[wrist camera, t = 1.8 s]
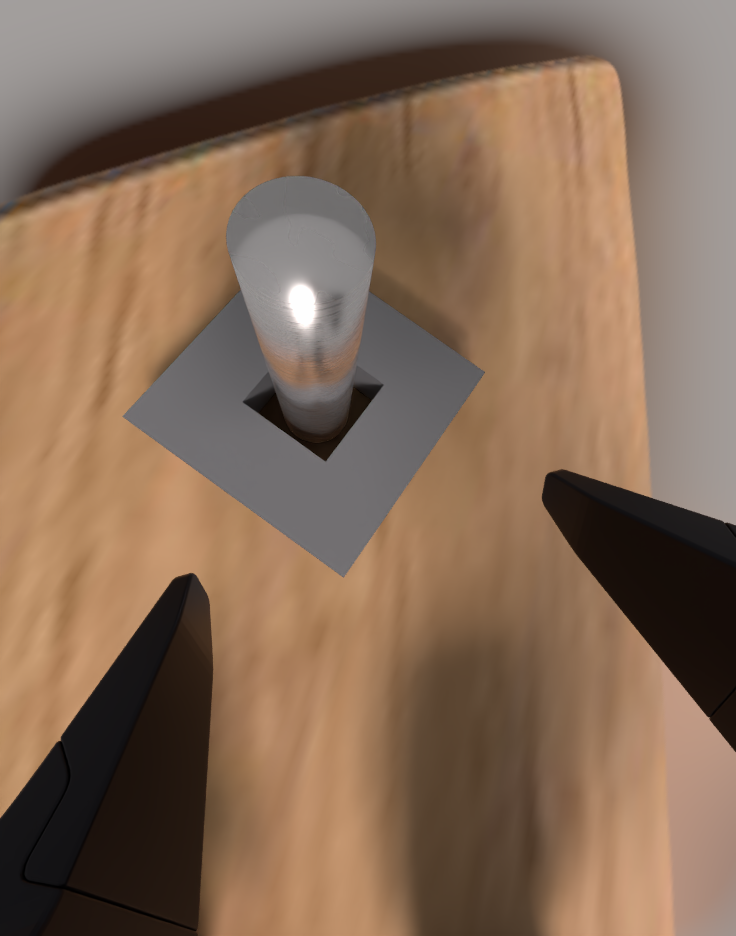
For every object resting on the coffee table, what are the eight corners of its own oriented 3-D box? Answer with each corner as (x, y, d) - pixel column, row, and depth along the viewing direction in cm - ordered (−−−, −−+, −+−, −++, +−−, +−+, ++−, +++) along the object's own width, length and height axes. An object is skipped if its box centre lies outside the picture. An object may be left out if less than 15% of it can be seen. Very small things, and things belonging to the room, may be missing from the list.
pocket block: (466, 392, 25) (485, 372, 23) (341, 573, 22) (343, 577, 19) (294, 271, 26) (290, 236, 23) (148, 433, 23) (122, 416, 20)
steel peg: (361, 405, 25) (404, 230, 11) (323, 455, 24) (317, 332, 10) (309, 369, 25) (288, 151, 11) (270, 417, 24) (194, 245, 10)
